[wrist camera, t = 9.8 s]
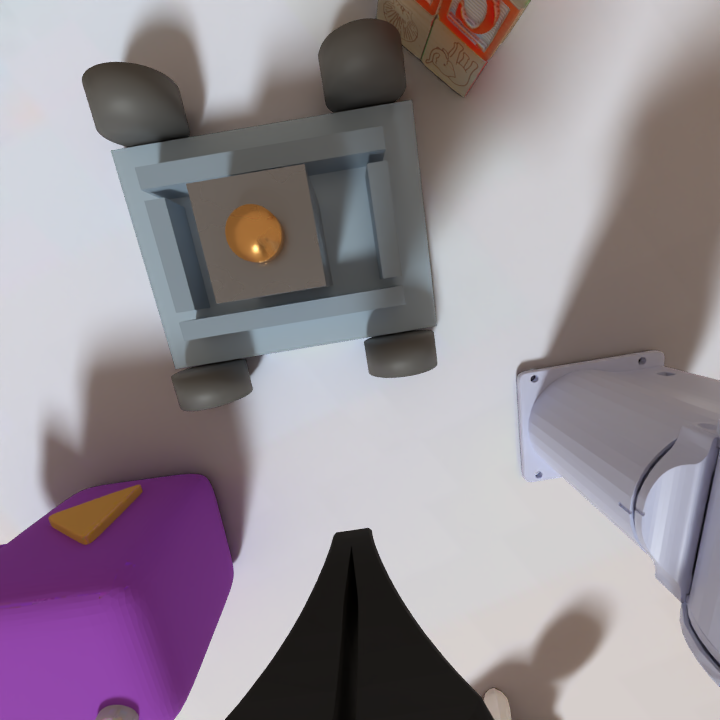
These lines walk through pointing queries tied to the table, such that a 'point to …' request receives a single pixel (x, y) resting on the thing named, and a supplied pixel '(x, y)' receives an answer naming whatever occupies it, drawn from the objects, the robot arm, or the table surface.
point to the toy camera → (112, 602)
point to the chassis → (337, 207)
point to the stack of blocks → (453, 33)
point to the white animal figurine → (497, 704)
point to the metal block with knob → (261, 233)
